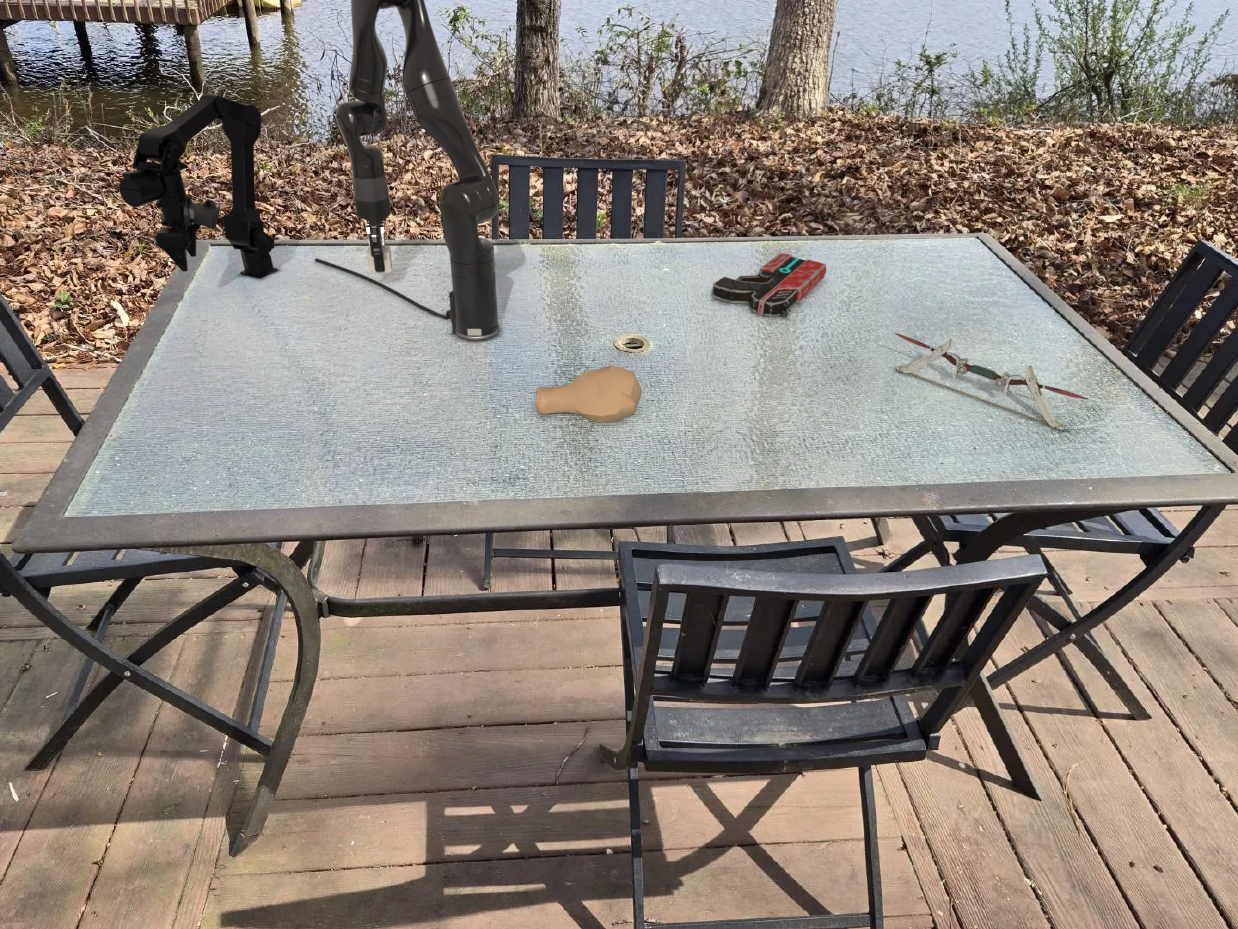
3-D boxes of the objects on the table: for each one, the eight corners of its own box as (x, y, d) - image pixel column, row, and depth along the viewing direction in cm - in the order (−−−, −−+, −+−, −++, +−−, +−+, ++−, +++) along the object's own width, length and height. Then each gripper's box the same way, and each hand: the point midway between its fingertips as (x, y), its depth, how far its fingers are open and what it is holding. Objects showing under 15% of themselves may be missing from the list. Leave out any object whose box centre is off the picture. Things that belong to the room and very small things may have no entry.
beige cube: (391, 272, 206) (389, 252, 203) (369, 273, 205) (367, 253, 202) (392, 265, 210) (389, 245, 207) (370, 265, 209) (368, 246, 206)
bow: (1077, 432, 163) (1095, 385, 158) (1074, 436, 162) (1091, 388, 156) (889, 364, 184) (899, 320, 179) (885, 367, 183) (895, 323, 178)
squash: (644, 429, 161) (640, 391, 154) (537, 437, 162) (528, 400, 156) (643, 392, 168) (639, 354, 162) (541, 400, 170) (533, 363, 164)
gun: (708, 284, 207) (784, 305, 199) (760, 245, 229) (831, 262, 221) (706, 302, 209) (781, 323, 201) (758, 261, 231) (828, 278, 223)
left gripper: (202, 206, 182) (220, 277, 191) (218, 180, 197) (234, 247, 206) (145, 208, 180) (165, 280, 189) (165, 181, 195) (183, 249, 204)
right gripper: (387, 204, 192) (396, 278, 202) (389, 185, 204) (397, 255, 213) (352, 205, 191) (362, 279, 201) (356, 185, 203) (366, 256, 212)
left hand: (189, 263), depth 197 cm, fingers open, 9 cm apart
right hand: (380, 266), depth 207 cm, fingers closed on beige cube, 4 cm apart
